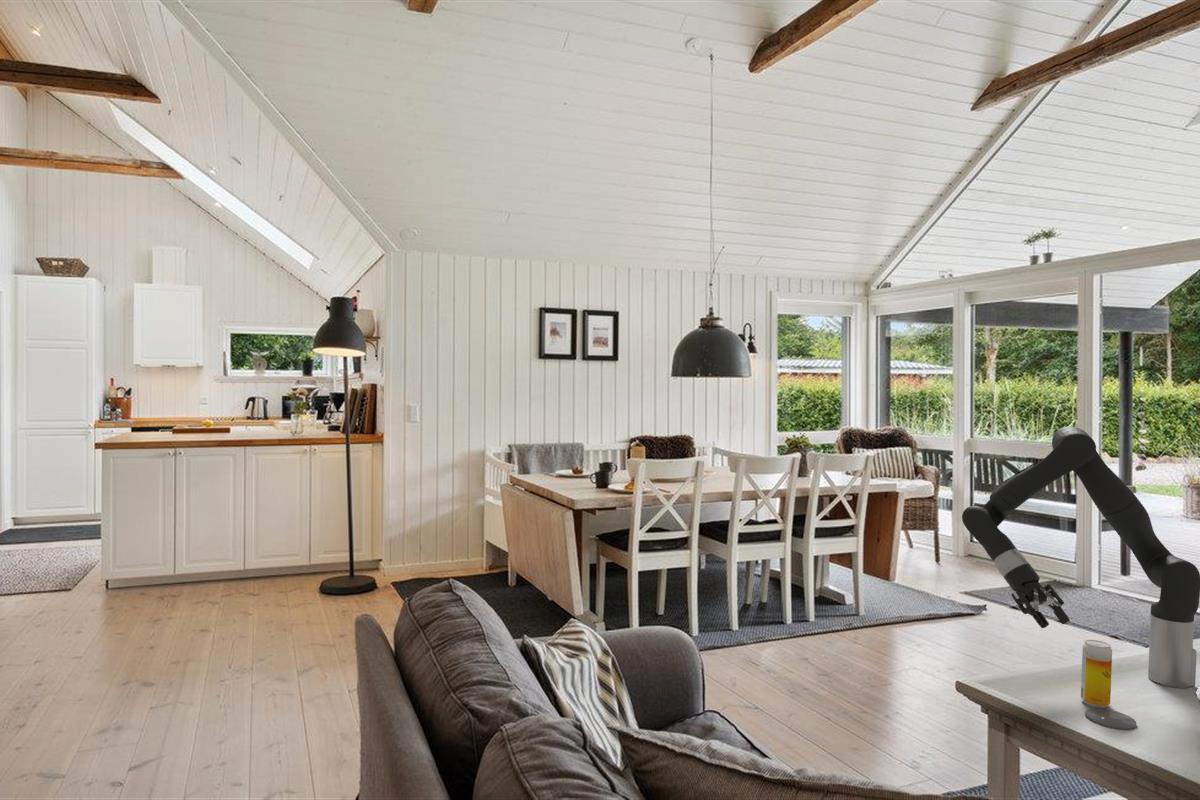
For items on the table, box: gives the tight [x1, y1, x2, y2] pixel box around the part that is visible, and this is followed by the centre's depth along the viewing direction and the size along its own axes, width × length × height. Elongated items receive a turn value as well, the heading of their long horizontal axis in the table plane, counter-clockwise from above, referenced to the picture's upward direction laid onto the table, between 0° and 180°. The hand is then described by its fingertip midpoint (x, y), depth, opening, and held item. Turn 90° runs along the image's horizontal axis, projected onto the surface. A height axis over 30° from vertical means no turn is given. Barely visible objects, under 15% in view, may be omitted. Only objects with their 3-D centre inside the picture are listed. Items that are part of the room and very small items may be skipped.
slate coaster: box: [1084, 707, 1137, 731], centre depth 178 cm, size 10×10×1 cm
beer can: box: [1080, 639, 1113, 709], centre depth 187 cm, size 6×6×15 cm
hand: (1056, 624), depth 195 cm, fingers open, 8 cm apart
